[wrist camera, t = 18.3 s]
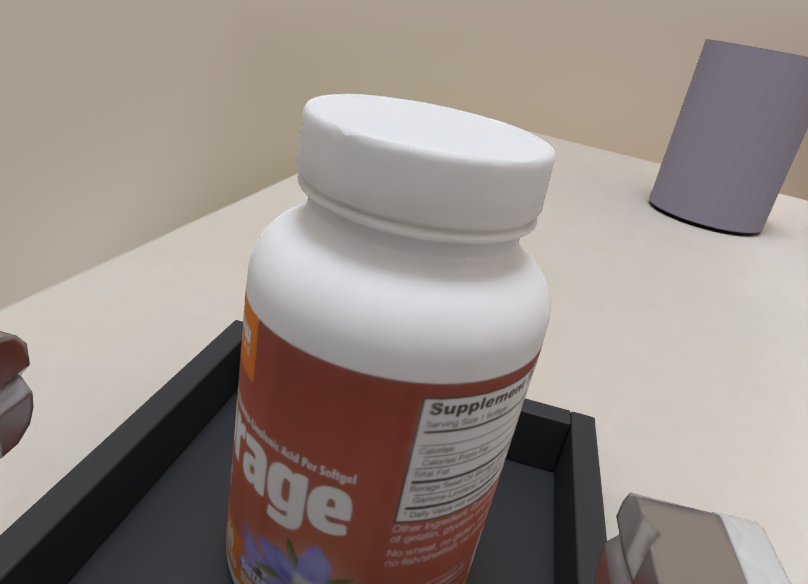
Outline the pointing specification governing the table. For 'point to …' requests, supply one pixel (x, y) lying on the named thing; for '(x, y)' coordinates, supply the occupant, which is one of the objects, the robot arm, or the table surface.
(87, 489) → the dark shallow tray
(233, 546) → the pill bottle
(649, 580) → the robot arm
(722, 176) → the container
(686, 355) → the table surface
